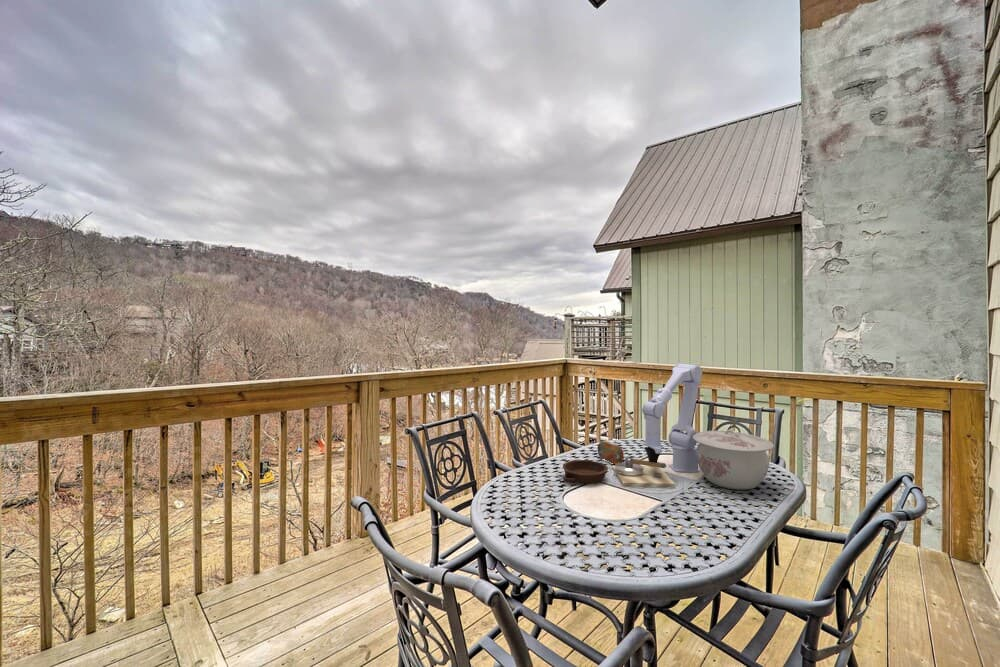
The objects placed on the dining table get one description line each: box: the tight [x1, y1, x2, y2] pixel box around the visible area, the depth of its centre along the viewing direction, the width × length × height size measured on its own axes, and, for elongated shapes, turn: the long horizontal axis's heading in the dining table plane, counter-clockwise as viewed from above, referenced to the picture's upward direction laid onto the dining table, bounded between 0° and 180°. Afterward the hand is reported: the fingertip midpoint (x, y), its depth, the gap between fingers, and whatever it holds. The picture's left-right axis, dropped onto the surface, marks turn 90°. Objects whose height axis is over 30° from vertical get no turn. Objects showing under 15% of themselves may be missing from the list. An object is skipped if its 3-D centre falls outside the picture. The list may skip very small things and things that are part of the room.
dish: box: [562, 459, 609, 485], centre depth 171 cm, size 18×22×5 cm
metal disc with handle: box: [614, 457, 667, 476], centre depth 172 cm, size 20×11×5 cm, turn 63°
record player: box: [612, 464, 676, 488], centre depth 171 cm, size 19×20×2 cm
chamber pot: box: [693, 429, 775, 491], centre depth 165 cm, size 28×28×21 cm
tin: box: [597, 440, 625, 465], centre depth 191 cm, size 15×3×8 cm, turn 25°
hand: (652, 466), depth 172 cm, fingers closed
